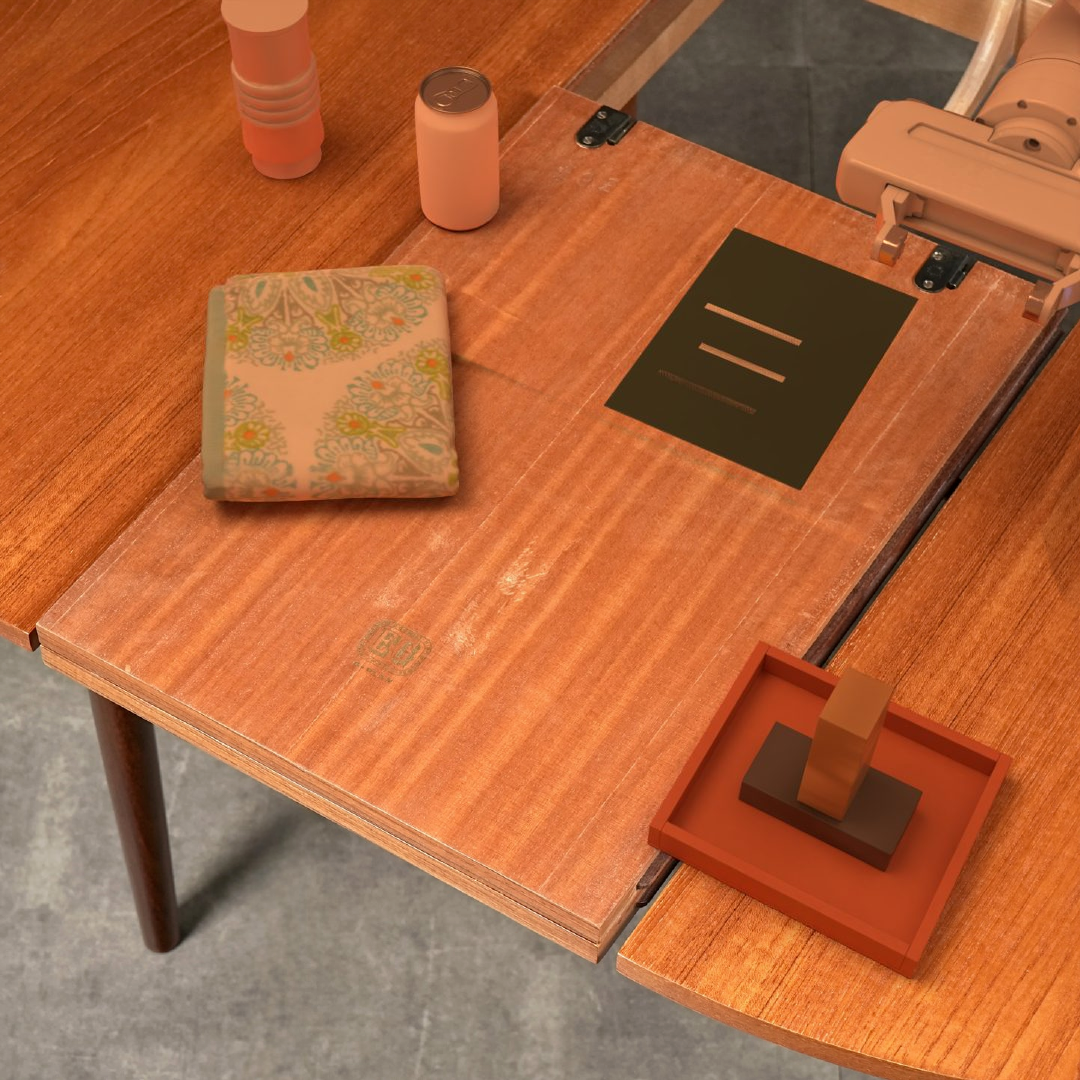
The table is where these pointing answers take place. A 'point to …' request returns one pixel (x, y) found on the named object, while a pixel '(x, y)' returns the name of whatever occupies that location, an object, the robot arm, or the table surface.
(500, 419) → the table surface
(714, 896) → the table surface
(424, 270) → the towel
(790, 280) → the slate board
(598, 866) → the table surface
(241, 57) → the pink ridged cylinder
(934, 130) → the robot arm
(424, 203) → the can
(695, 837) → the tray
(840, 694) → the duster
